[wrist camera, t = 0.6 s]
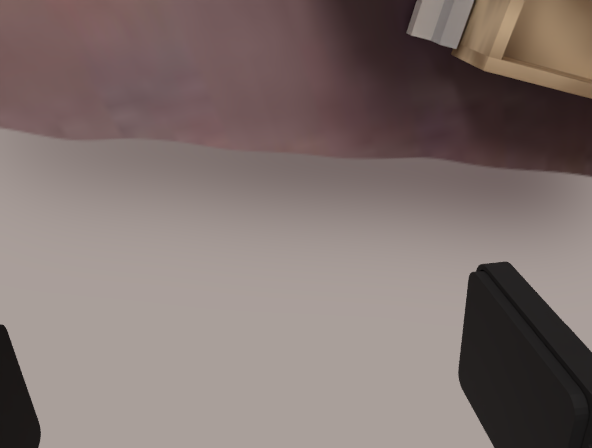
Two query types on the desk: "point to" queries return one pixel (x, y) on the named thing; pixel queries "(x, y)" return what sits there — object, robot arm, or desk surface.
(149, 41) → the desk surface
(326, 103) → the desk surface
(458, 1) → the grey flat slab
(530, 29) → the crate
